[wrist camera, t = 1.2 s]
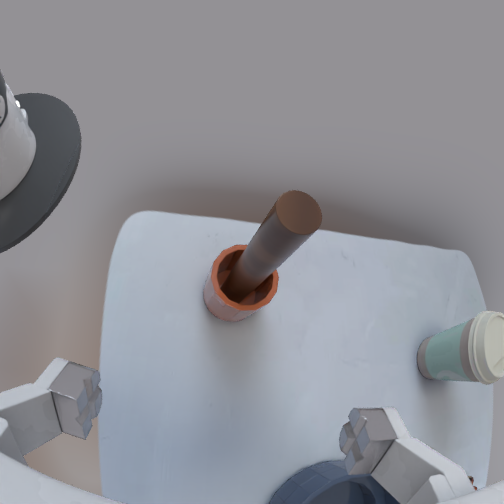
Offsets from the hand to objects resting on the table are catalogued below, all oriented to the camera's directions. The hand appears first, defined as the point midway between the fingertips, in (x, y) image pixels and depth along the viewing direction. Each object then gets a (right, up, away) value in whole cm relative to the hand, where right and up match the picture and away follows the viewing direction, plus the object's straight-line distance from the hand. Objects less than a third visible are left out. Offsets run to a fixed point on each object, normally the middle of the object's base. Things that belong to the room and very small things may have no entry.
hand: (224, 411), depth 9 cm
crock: (-1, +1, +24) cm, 24 cm away
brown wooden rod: (-1, +1, +24) cm, 24 cm away
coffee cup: (+25, -9, +28) cm, 39 cm away
